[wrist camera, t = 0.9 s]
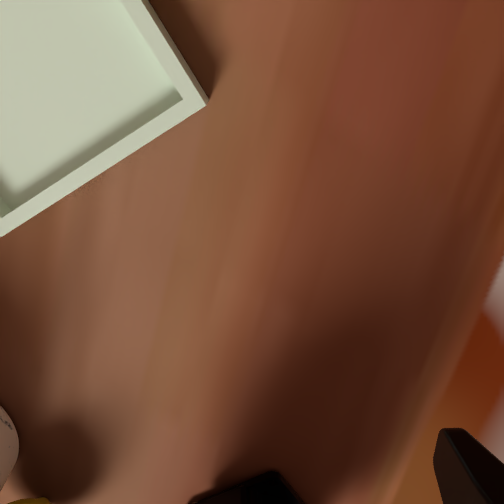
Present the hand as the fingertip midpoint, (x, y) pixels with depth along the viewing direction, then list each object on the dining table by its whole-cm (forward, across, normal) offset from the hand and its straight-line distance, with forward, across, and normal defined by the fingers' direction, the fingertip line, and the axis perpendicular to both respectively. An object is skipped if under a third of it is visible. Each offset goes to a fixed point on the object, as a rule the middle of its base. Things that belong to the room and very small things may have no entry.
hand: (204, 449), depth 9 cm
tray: (+13, +7, -6) cm, 16 cm away
